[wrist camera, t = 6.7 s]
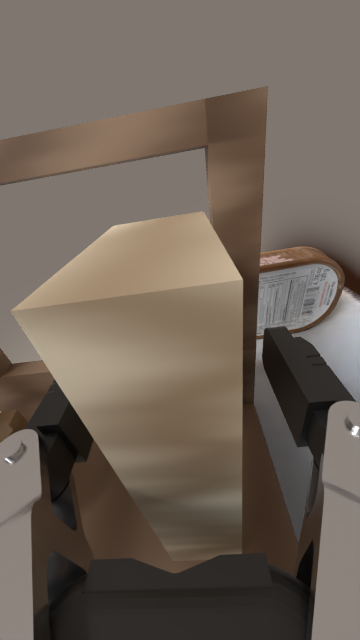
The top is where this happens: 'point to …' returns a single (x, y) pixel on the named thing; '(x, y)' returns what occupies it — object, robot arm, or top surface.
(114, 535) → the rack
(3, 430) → the offcut top
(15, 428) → the offcut mid
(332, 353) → the top surface
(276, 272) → the tin
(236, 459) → the pale wooden block
